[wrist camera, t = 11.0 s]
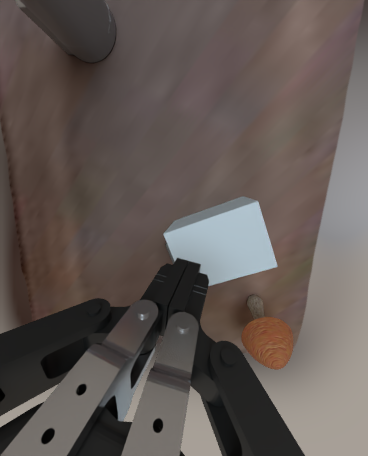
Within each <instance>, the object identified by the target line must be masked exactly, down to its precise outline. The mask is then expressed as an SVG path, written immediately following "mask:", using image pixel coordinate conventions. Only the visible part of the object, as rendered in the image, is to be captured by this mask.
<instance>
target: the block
mask: <svg viewBox="0 0 368 456" xmlns="http://www.w3.org/2000/svg"><path fill="white" fill-rule="evenodd" d="M164 237H165V239H166V242H167V243H166V244H165V245H166V248H167V250H168V252H169V255H170V257H171V260H172V262H173V264H174V262H175V261H176V259H177V258H180V259H184V260H188V261H191V262H195V263H199V264H201V268H200V273H203V274H206V275H207V276H208V279H209V285H208V286H211V285H214V284H218V283H221V282H225V281H228V280H232V279H236V278H239V277H243V276H246V275H250V274H253V273H257V272H261V271H264V270H268V269H271V268H275V267H278V266H277V263H276V260H275V256H274V253H273V250H272V246H271V243H270V240H269V236H268V233H267V230H266V226H265V223H264V220H263V216H262V213H261V210H260V206H259V203H258V201H256V200H253V199H250V198H247V197H244V196H242V197H239V198H237V199H234V200H231V201H228V202H225V203H223V204H220V205H217V206H214V207H211V208H209V209H206V210H203V211H200V212H197V213H195V214H192V215H189V216H186V217H183V218H181V219H178V220H175V221H174V222H173V223H172V224H171V225H170V227H169V228H168V229H167V230H166V231H165V233H164Z"/></svg>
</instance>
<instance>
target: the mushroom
mask: <svg viewBox="0 0 368 456" xmlns="http://www.w3.org/2000/svg"><path fill="white" fill-rule="evenodd" d="M247 305H248V307H249V309H250V311H251V314H252V316H253V318H254V320H253V321H251V322H250V323H249V324H247V325H246V327H245V328H244V330H243V332H242V343H243V345H244V347H245V348H246V350H247V351H248V352H249V353H250V355H251V356H252V357H253V358H254V359H255V360H257V361H258V362H259V363H261V364H262V365H264V366H266V367H268V368H271V369H281V368H283V367H284V366H285V365H286V364H287V362H288V361H289V359H290V357H291V354H292V351H293V334H292V331H291V329H290V327H289V326H288V325H287V324H286V323H285V322H283V321H282V320H279V319H277V318H272V317H265V316H264V308H263V301H262V299H260V298H259V297H258V296H257V295H251V296H249V297H248V301H247Z"/></svg>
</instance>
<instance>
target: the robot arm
mask: <svg viewBox="0 0 368 456" xmlns="http://www.w3.org/2000/svg"><path fill="white" fill-rule="evenodd" d="M15 1H16V4H17V6H18V7H19V8H20V9H21V10H22V11H23V12H24V13H25V14H26V15H27V16H28V17H29V18H30V19H31V20H32V21H33V22H35V23H36V24H37V25H38V26H39V27H40V28H41V29H42V30H43V31H44V32H45V33H46V34H47V35H48V36H49V37H50V38H51V39H53V40H54V41H55V42H56V43H57V44H58V45H59V46H60V47H61V48H62V49H63V50H64V51H65V52H66V53H67V54H68V55H71V54H72V55H75V56H76V57H78V58H79V59H80V60H83V61H85V62H89V63H93V62H98V61H101V60H102V59H104V58H105V57H106V56H107V55H108V54H109V53H110V51H111V49H112V48H113V45H114V42H115V37H116V26H115V21H114V18H113V15H112V13H111V11H110V9H109V7H108V5H107V3H106V1H105V0H15ZM200 268H201V264H199V263H195V262H191V261H188V260H184V259H180V258H177V259H176V261H175V262H174V264H173V265H171V264H166V265H164V266H163V267H161V268H160V270H159V271H158V273H157V275H156V276H155V277H154V280H153V281H152V282H151V284H150V285H149V287H148V288H147V290H146V292H145V293H144V295H143V296H142V298H141V299H140V300H139V301H137V302H135V303H133V304H132V305H131V306H128V307H110V304H109V302H108V301H106V300H104V299H99V298H98V299H92V300H89V301H87V302H84V303H81V304H79V305H76V306H73V307H71V308H68V309H65V310H63V311H60V312H57V313H55V314H52V315H49V316H47V317H44V318H41V319H39V320H36V321H34V322H31V323H28V324H26V325H23V326H20V327H18V328H15V329H12V330H10V331H7V332H4V333H2V334H0V416H1V415H3V414H5V413H7V412H8V411H10V410H12V409H14V408H15V407H17V406H19V405H21V404H23V403H24V402H26V401H28V400H30V399H32V398H34V397H35V396H37V395H39V394H41V393H43V392H45V391H46V390H48V389H50V388H52V387H53V386H55V385H57V384H59V383H60V384H59V385H58V386H57V387H56V389H55V390H54V391H53V392H52V393H51V395H50V396H49V397H48V398H47V400H46V401H45V402H43V403H41V404H39V405H37V406H35V407H33V408H31V409H30V410H28V411H26V412H25V413H23V414H22V415H20V416H18V417H17V418H15V419H13V420H12V421H10V422H8V423H7V424H5V425H3V426H2V427H0V456H185V455H184V454H183V453H182V452H181V450H180V448H181V443H182V436H183V429H184V423H185V417H186V410H187V404H188V397H189V391H190V386H192V387H193V388H194V389H195V390H196V391H197V392H198V393H199V394H200V395H201V399H202V401H203V404H204V407H205V409H206V412H207V415H208V418H209V421H210V423H211V426H212V429H213V431H214V434H215V437H216V440H217V442H218V445H219V448H220V450H221V453H222V456H305V455H304V454H303V452H302V450H301V449H300V447H299V445H298V444H297V442H296V440H295V439H294V437H293V435H292V434H291V432H290V431H289V429H288V427H287V426H286V424H285V422H284V421H283V419H282V417H281V416H280V414H279V413H278V411H277V409H276V407H275V406H274V404H273V403H272V401H271V399H270V398H269V396H268V394H267V393H266V391H265V389H264V388H263V386H262V385H261V383H260V381H259V380H258V378H257V376H256V375H255V373H254V371H253V370H252V368H251V367H250V365H249V363H248V362H247V360H246V358H245V357H244V355H243V353H242V352H241V350H240V349H239V348H238V347H237V346H236V345H234V344H233V343H231V342H228V341H219V342H217V343H216V342H215V341H213V340H212V339H211V338H209V337H208V336H207V335H206V334H205V333H204V332H203V330H202V328H201V325H200V318H201V314H202V310H203V306H204V302H205V298H206V294H207V289H208V285H209V279H208V276H207V275H206V274H203V273H200ZM159 335H161V336H163V339H162V342H161V345H160V349H159V351H158V354H157V357H156V360H155V363H154V366H153V368H152V369H151V370H150V372H149V375H148V377H147V380H146V383H145V386H144V389H143V392H142V395H141V398H140V401H139V404H138V407H137V410H136V413H135V416H134V419H133V422H123V421H124V418H125V416H126V414H127V412H128V409H129V407H130V404H131V401H132V397H133V395H134V392H135V390H136V388H137V386H138V384H139V382H140V380H141V378H142V376H143V373H144V372H145V370H146V368H147V366H148V364H149V362H150V360H151V358H152V356H153V354H154V352H155V349H156V342H157V340H158V338H159Z"/></svg>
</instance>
